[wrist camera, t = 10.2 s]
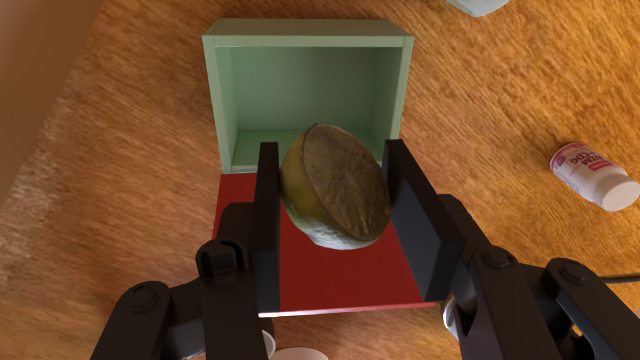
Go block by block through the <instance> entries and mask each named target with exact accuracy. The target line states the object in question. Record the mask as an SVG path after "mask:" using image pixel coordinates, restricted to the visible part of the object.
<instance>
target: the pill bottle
mask: <svg viewBox="0 0 640 360" xmlns="http://www.w3.org/2000/svg"><path fill="white" fill-rule="evenodd" d="M550 168H551V171H552V172H553V173H554V174H555V175H556V176H557V177H559V178H560V179H561V180H562V181H563V182H565V183H566V184H567V185H568V186H570V187H571V188H572V189H573V190H575V191H576V192H577V193H578V194H580V195H581V196H582V197H583V198H585V199H586V200H588V201H591V202H595V203H596V204H597V205H599V206H600V207H601V208H603V209H604V210H606V211H618V210H621V209H624V208H626V207H627V206H629V205H630V204H632V203H633V202H634V201H635V200H636V199H637V198H638V196H639V194H640V185H639V183H637V182H636V181H635V180H633V179H632V178H631V177H629V176H627V173H626V171H625V170H624V169H623V168H621V167H620V166H619V165H617V164H615V163H614V162H612V161H611V160H609V159H607V158H606V157H604V156H603V155H601V154H600V153H598V152H596V151H595V150H593V149H592V148H590V147H588V146H587V145H585V144H583V143H579V142H574V143H570V144H567V145H565V146H563V147H562V148H560V149H559V150H558V151H557V152H556V153H555V154H554V155H553V157H552V158H551V161H550Z"/></svg>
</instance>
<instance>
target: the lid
mask: <svg viewBox="0 0 640 360" xmlns="http://www.w3.org/2000/svg"><path fill="white" fill-rule="evenodd" d="M256 178H257V173H240V174H222V175H221V180H220V187H219V194H218V201H217V208H216V215H215V222H214V229H213V236H212V240H213V239H216V235H217V232H218V226H219V224H220V218H221V213H222V211H223V210H224V209H225V208H226V206H227V205H228V204H229V203H235V202H254V195H255V187H256ZM435 303H436V302H423V299H422V297H421V294H420V292H419V289H418V287H417V284H416V282H415V279H414V277H413V274H412V272H411V270H410V267H409V265H408V262H407V260H406V257H405V255H404V252H403V250H402V247H401V245H400V242H399V240H398V238H397V235H396V233H395V230H394V228H393V225H392V223H391V220H389V222H388V225H387V227H386V229H385V230H384V232H383V234H382V235H381V236H380V237H379V238H378V239H377V240H376V242H374V243H373V244H370V245H368V246H365V247H361V248H356V249H344V250H340V249H333V248H329V247H324V246H320V245H317V244H315V243H314V242H313V241H312V240H311V239H310V238H309V237H308V235H307V234H306V233H305V232H303V231H302V230H300V229H299V228H297V227H296V226H295V225H294V223H293V222H292V220H291V218H290V217H289V215H288V214H287V212H286V210H285V208H284V206H283V204H282V201H281V228H280V312H268V313H258V314H259V317H274V316H290V315H305V314H321V313H336V312H352V311H367V310H383V309H398V308H414V307H429V306H434V304H435Z"/></svg>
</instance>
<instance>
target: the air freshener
mask: <svg viewBox="0 0 640 360" xmlns="http://www.w3.org/2000/svg"><path fill="white" fill-rule="evenodd" d="M445 1H447V2H448V3H450V4H451V5H453V6H455V7H456V8H458V9H460V10H461V11H463V12H465V13H467V14H469V15H471V16H473V17H480V16H483V15H486V14H488V13H491V12H493V11H495V10H497V9H498V8H500V7H501V6H503V5H505V4H506V3H507V2H509V1H510V0H445Z"/></svg>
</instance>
